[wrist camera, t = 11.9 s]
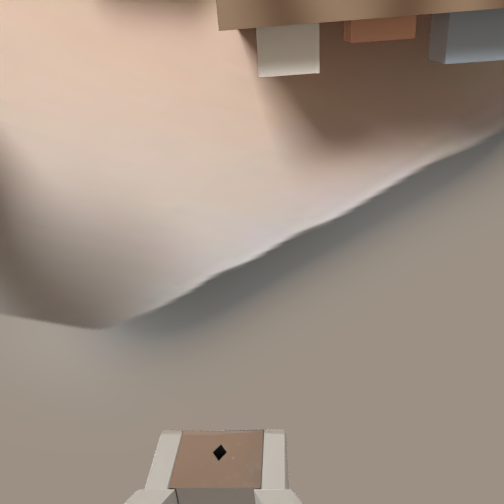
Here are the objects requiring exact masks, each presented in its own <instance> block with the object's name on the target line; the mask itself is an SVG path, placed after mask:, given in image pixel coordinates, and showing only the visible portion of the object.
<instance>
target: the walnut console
mask: <svg viewBox="0 0 504 504" xmlns="http://www.w3.org/2000/svg"><path fill="white" fill-rule="evenodd" d="M216 4H217V15H218V25H219V31H222V30H235V29H248V28H260V27H273V26H285V25H298V24H310V23H323V22H335V21H348V20H361V19H373V18H386V17H398V16H411V15H423V14H436V13H448V12H461V11H474V10H486V9H499V8H504V0H216Z"/></svg>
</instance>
